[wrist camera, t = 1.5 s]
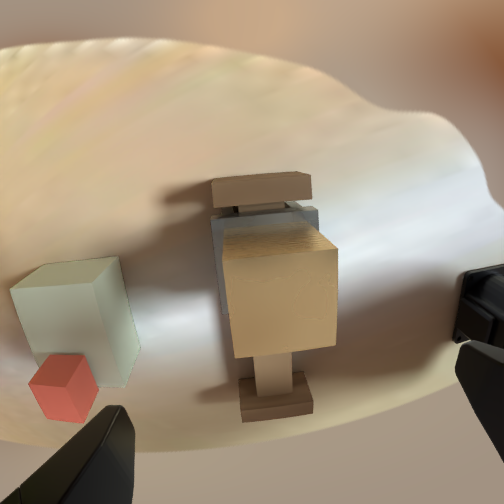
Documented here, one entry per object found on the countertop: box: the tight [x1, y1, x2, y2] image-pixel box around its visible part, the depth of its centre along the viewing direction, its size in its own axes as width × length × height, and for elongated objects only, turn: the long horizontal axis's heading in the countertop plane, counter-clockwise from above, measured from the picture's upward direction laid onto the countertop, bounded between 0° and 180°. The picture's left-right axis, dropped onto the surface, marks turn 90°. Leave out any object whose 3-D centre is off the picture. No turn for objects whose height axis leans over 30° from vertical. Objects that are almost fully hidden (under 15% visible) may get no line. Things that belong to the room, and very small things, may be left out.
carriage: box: [210, 201, 338, 358], centre depth 15 cm, size 5×5×8 cm
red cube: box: [28, 355, 99, 423], centre depth 15 cm, size 3×3×3 cm
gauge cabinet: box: [9, 256, 141, 388], centre depth 18 cm, size 6×7×4 cm
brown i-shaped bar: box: [211, 171, 313, 423], centre depth 19 cm, size 15×5×3 cm, turn 5°
